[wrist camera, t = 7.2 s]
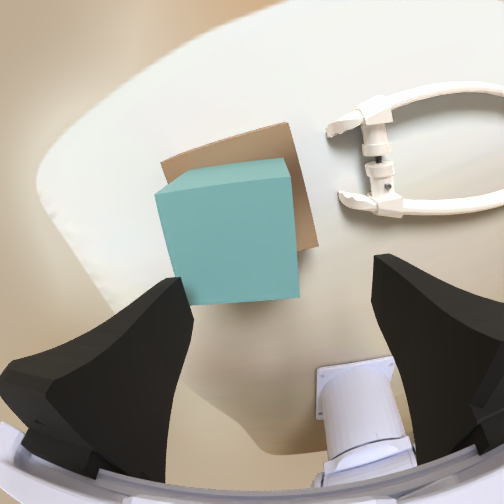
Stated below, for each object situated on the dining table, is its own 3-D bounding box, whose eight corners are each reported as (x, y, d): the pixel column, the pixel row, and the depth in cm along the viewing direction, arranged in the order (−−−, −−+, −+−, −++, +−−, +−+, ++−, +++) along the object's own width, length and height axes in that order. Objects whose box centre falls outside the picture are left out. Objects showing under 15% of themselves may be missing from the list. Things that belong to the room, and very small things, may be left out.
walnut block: (309, 222, 20) (318, 246, 16) (213, 245, 21) (203, 273, 18) (283, 122, 17) (288, 123, 14) (180, 153, 18) (160, 162, 15)
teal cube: (291, 246, 17) (299, 297, 12) (205, 254, 17) (183, 305, 13) (283, 157, 14) (290, 176, 10) (187, 170, 15) (154, 194, 10)
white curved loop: (551, 187, 17) (342, 231, 20) (546, 92, 12) (315, 91, 16) (568, 195, 14) (352, 247, 18) (564, 94, 10) (323, 86, 14)
